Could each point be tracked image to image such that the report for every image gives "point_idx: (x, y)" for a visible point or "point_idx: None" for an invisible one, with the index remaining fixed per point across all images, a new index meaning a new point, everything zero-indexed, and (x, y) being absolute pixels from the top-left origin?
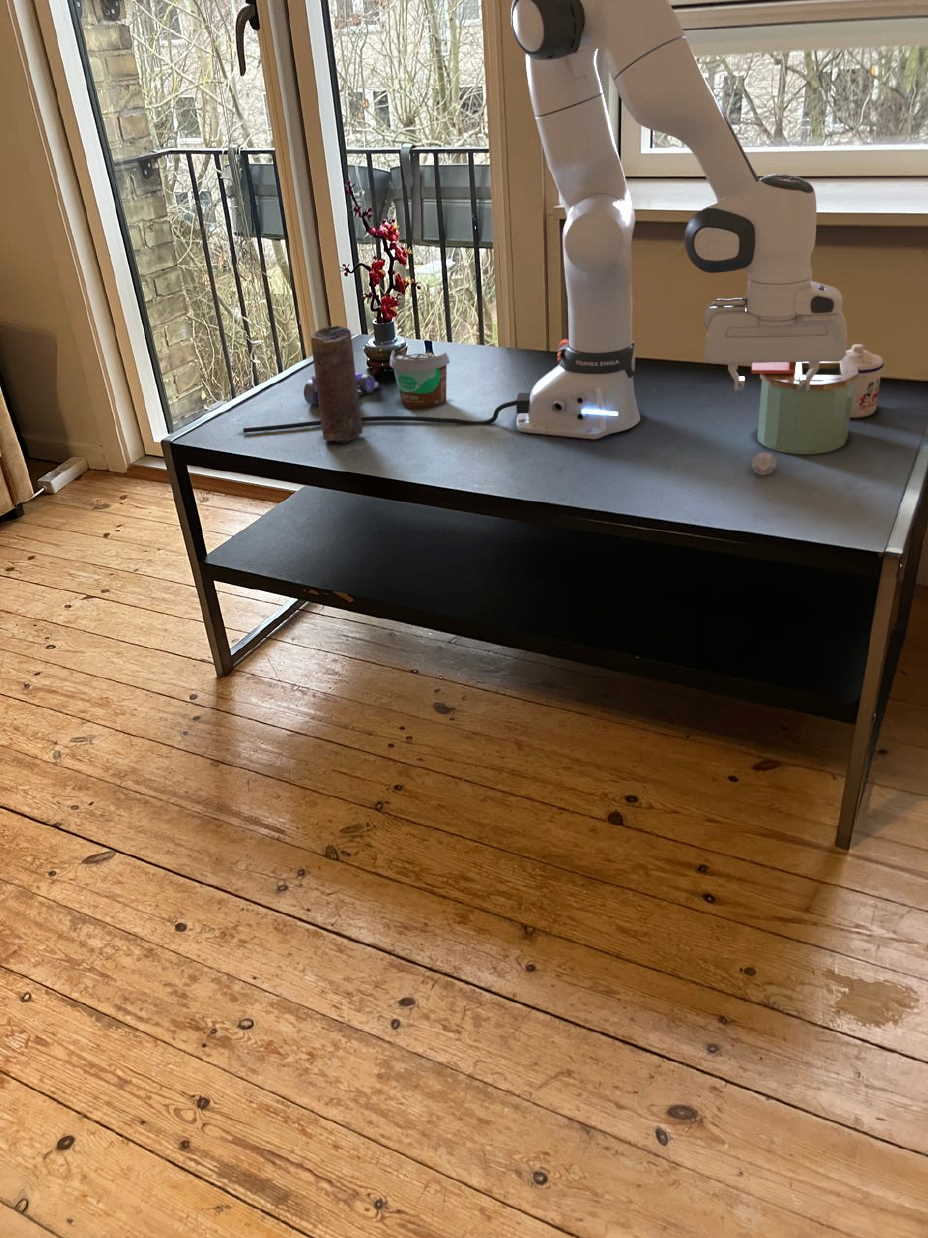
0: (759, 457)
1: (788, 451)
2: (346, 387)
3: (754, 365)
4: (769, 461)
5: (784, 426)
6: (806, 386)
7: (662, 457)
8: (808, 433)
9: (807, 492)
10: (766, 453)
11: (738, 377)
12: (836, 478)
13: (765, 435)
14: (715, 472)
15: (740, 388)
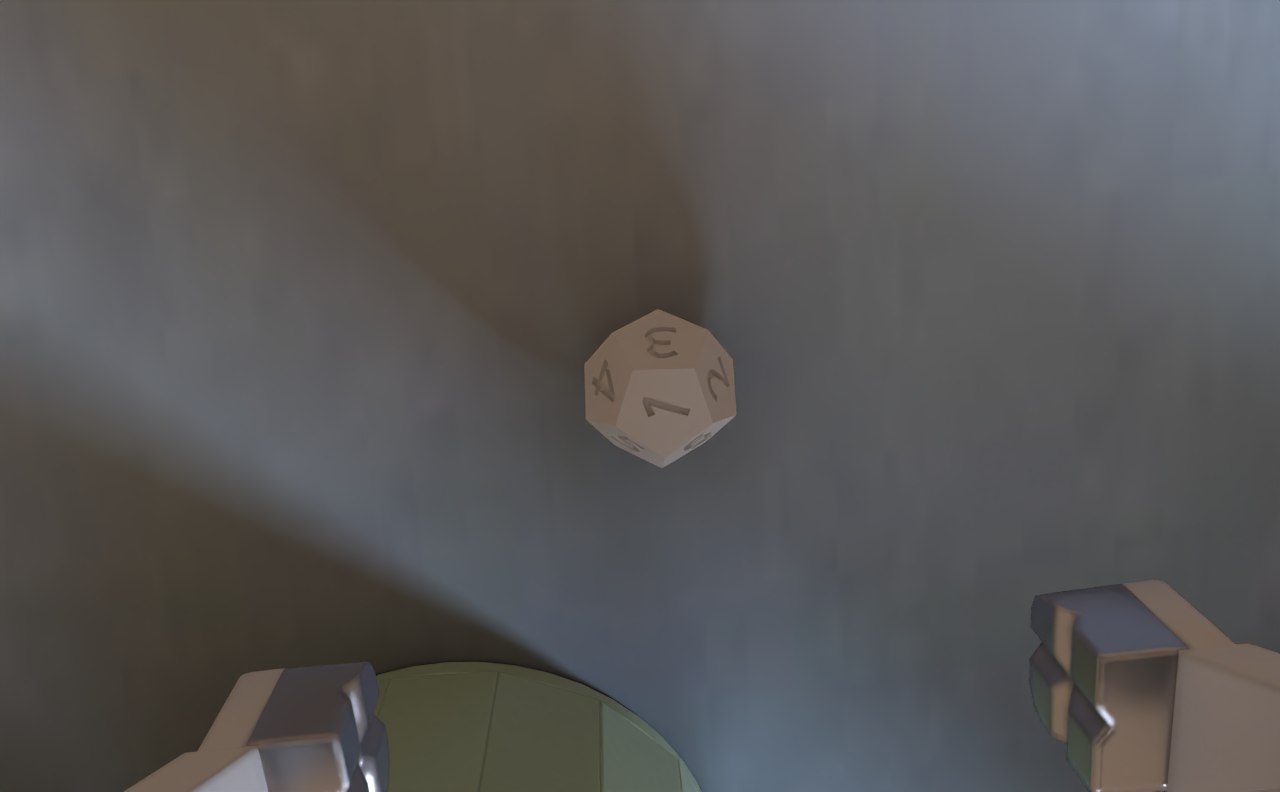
0: (697, 369)
1: (527, 673)
2: None
3: None
4: (626, 350)
5: (559, 782)
6: (271, 687)
7: (1273, 510)
8: (398, 745)
9: (356, 99)
10: (654, 433)
11: (1198, 704)
12: (203, 345)
13: (675, 784)
14: (951, 333)
15: (1096, 592)
